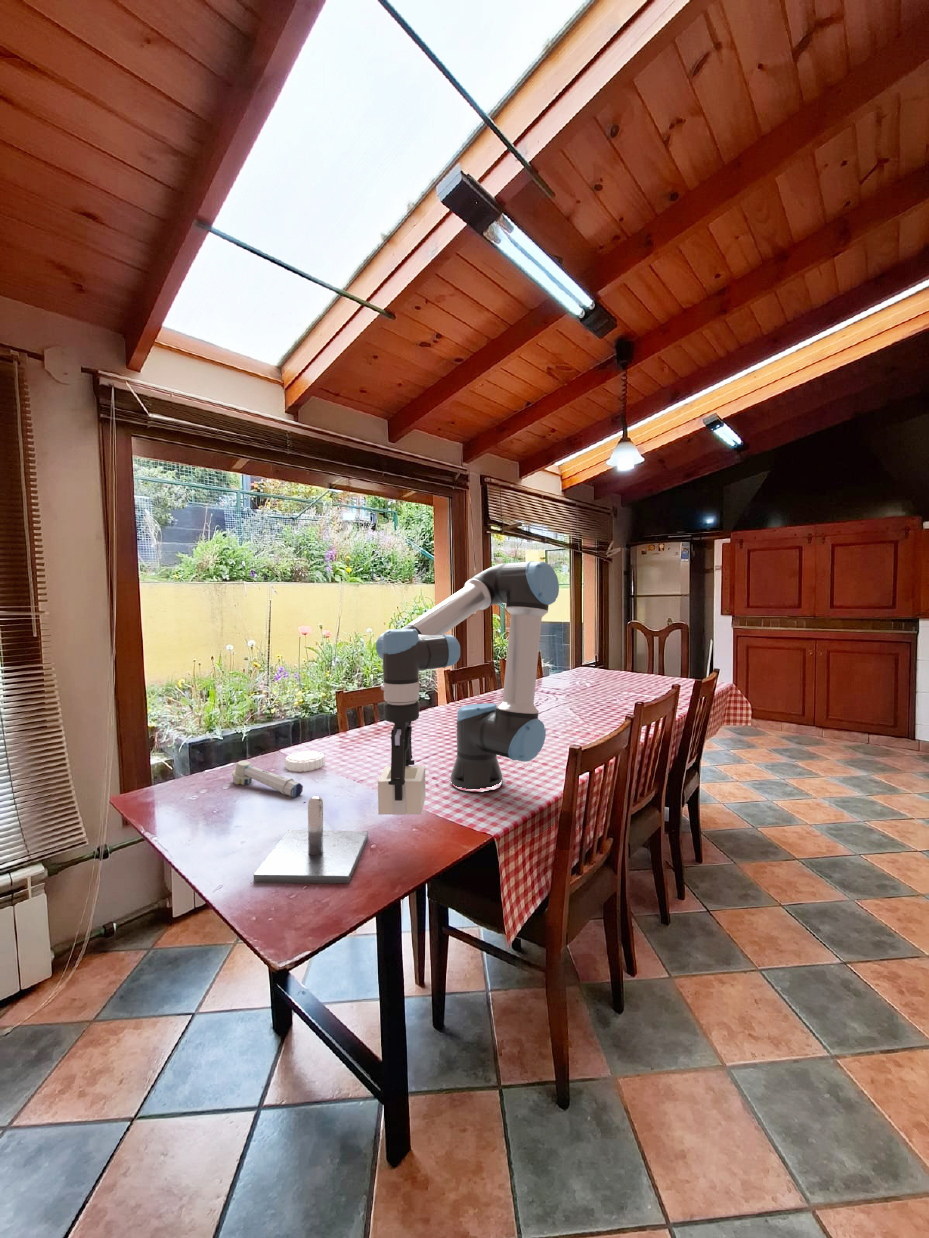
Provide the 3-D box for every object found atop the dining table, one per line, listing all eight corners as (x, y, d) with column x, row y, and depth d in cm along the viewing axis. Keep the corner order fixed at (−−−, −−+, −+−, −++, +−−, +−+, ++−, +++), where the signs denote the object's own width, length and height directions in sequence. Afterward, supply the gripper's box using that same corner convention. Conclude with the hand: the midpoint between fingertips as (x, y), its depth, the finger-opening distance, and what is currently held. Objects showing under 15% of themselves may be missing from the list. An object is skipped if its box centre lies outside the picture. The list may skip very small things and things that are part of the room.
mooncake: (332, 764, 162) (332, 753, 162) (301, 775, 152) (301, 763, 152) (308, 757, 169) (308, 747, 168) (277, 767, 159) (277, 756, 159)
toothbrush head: (290, 786, 132) (229, 758, 144) (288, 810, 133) (227, 780, 145) (305, 780, 137) (244, 754, 149) (303, 803, 138) (243, 775, 149)
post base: (367, 837, 112) (367, 780, 112) (348, 883, 94) (348, 815, 94) (288, 836, 112) (287, 780, 112) (253, 882, 94) (253, 814, 94)
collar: (425, 796, 112) (425, 766, 112) (421, 814, 103) (421, 781, 103) (385, 796, 112) (385, 766, 112) (378, 814, 103) (377, 781, 103)
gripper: (391, 691, 118) (392, 784, 119) (374, 713, 96) (375, 827, 97) (423, 690, 117) (424, 784, 119) (413, 713, 96) (414, 827, 97)
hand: (402, 803), depth 108 cm, fingers closed on collar, 9 cm apart
